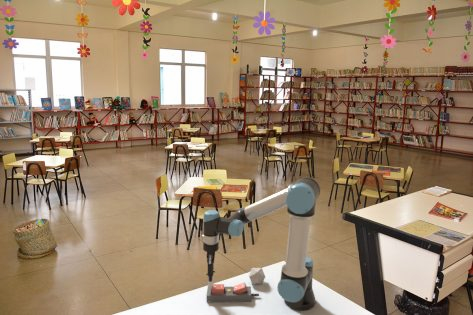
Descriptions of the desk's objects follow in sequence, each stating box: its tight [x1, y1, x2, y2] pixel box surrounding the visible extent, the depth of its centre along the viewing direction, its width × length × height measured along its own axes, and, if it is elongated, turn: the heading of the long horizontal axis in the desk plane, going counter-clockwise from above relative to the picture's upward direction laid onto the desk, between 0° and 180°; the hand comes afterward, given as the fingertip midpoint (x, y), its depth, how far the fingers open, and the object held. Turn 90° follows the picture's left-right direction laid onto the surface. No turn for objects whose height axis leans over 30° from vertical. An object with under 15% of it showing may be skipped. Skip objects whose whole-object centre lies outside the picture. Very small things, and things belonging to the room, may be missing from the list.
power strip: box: [206, 285, 260, 303], centre depth 186 cm, size 26×8×4 cm, turn 90°
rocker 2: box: [233, 282, 247, 294], centre depth 186 cm, size 6×4×2 cm
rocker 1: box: [212, 283, 225, 294], centre depth 186 cm, size 6×4×2 cm
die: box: [248, 267, 266, 285], centre depth 199 cm, size 8×9×10 cm
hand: (210, 285), depth 185 cm, fingers closed
